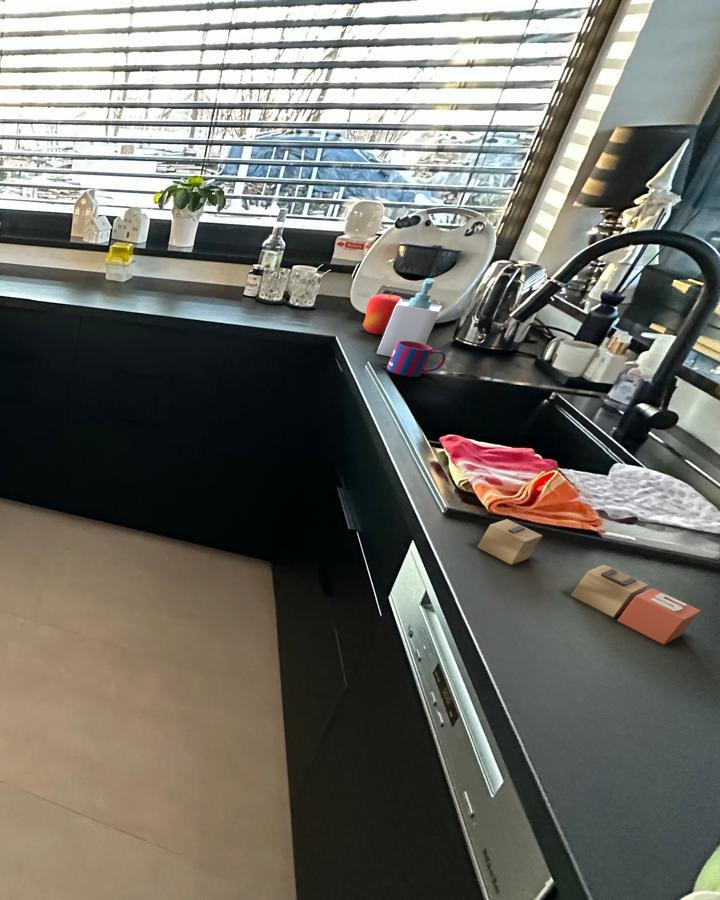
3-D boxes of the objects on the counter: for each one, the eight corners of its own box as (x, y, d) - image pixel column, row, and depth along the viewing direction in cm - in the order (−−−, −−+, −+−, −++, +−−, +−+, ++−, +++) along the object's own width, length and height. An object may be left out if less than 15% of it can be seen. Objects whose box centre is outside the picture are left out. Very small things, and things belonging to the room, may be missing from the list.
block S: (615, 622, 72) (636, 594, 70) (632, 614, 73) (653, 586, 71) (662, 646, 69) (685, 618, 67) (679, 637, 70) (702, 609, 68)
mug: (384, 365, 151) (396, 338, 148) (434, 374, 147) (447, 347, 144) (387, 374, 146) (399, 346, 142) (439, 383, 142) (452, 354, 138)
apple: (387, 330, 180) (403, 289, 174) (398, 338, 173) (416, 296, 167) (354, 326, 182) (369, 285, 176) (363, 334, 175) (380, 292, 169)
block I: (475, 549, 84) (490, 523, 82) (493, 543, 85) (508, 517, 83) (510, 566, 81) (526, 540, 79) (527, 560, 82) (543, 534, 80)
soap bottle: (375, 354, 159) (406, 278, 150) (381, 346, 165) (410, 273, 156) (416, 362, 154) (450, 285, 145) (420, 354, 160) (453, 280, 151)
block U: (569, 597, 76) (588, 570, 74) (586, 589, 77) (605, 562, 75) (611, 619, 72) (632, 591, 70) (628, 610, 74) (649, 583, 72)
